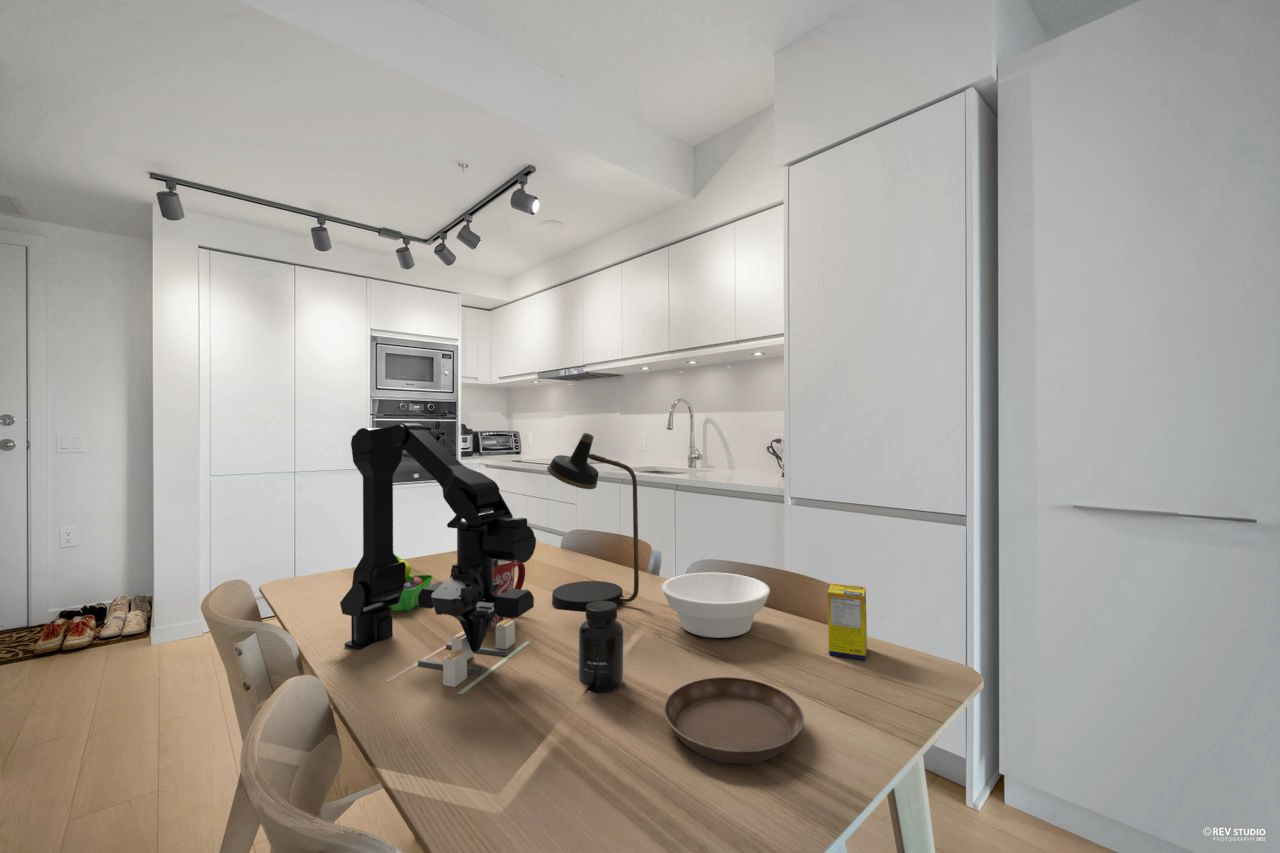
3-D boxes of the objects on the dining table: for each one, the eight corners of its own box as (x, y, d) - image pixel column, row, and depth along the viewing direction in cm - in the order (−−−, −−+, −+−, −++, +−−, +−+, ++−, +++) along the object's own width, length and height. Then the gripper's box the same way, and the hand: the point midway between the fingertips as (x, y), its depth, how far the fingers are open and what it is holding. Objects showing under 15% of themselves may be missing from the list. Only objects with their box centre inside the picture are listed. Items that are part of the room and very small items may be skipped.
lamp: (568, 587, 132) (567, 432, 133) (651, 596, 125) (649, 432, 125) (533, 607, 117) (532, 433, 118) (624, 619, 110) (623, 432, 110)
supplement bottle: (588, 698, 77) (588, 615, 77) (572, 679, 83) (571, 602, 83) (631, 687, 80) (630, 608, 81) (612, 669, 87) (611, 595, 87)
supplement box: (867, 648, 94) (866, 586, 94) (866, 661, 89) (865, 595, 89) (831, 642, 97) (830, 582, 97) (828, 655, 91) (827, 591, 91)
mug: (489, 638, 100) (488, 567, 100) (460, 628, 105) (459, 560, 106) (539, 619, 110) (538, 554, 110) (510, 611, 116) (510, 548, 116)
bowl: (646, 640, 99) (645, 596, 99) (680, 605, 118) (680, 568, 119) (760, 657, 91) (760, 609, 91) (777, 617, 111) (777, 577, 111)
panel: (379, 692, 80) (378, 680, 80) (468, 637, 101) (468, 627, 101) (458, 705, 76) (458, 693, 76) (534, 645, 97) (534, 635, 97)
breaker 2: (495, 648, 93) (495, 624, 93) (505, 641, 96) (504, 618, 96) (505, 649, 92) (505, 625, 92) (514, 642, 95) (514, 619, 95)
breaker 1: (443, 685, 79) (443, 656, 79) (455, 676, 82) (455, 648, 82) (454, 686, 79) (454, 658, 79) (467, 677, 82) (466, 650, 82)
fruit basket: (413, 612, 115) (412, 560, 115) (372, 613, 115) (372, 560, 115) (434, 596, 127) (433, 548, 127) (397, 596, 127) (396, 549, 127)
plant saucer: (708, 793, 57) (708, 764, 57) (642, 713, 74) (642, 691, 74) (835, 752, 64) (835, 727, 64) (749, 688, 81) (749, 667, 81)
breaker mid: (451, 662, 87) (451, 636, 87) (463, 654, 90) (462, 630, 90) (462, 663, 87) (461, 637, 87) (473, 656, 89) (473, 631, 89)
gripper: (392, 563, 83) (393, 664, 83) (497, 573, 77) (498, 681, 77) (440, 548, 93) (440, 637, 93) (535, 555, 88) (535, 650, 88)
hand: (475, 651), depth 88 cm, fingers closed
